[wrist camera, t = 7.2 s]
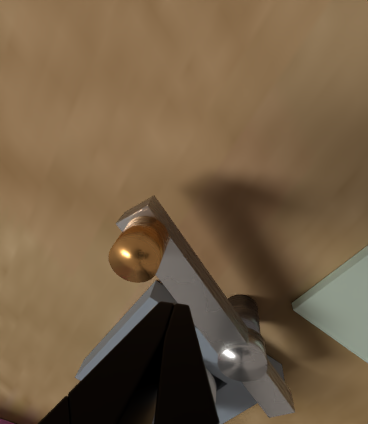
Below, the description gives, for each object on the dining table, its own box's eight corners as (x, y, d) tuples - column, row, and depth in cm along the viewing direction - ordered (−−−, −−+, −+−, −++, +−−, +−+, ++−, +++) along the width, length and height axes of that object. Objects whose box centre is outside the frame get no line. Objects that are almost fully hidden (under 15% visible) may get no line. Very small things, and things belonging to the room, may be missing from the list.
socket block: (281, 364, 21) (285, 386, 19) (191, 423, 26) (188, 444, 24) (155, 280, 19) (149, 297, 18) (84, 359, 24) (74, 377, 23)
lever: (172, 172, 16) (141, 223, 11) (291, 350, 20) (311, 451, 15) (135, 194, 17) (89, 251, 11) (256, 360, 21) (264, 458, 16)
